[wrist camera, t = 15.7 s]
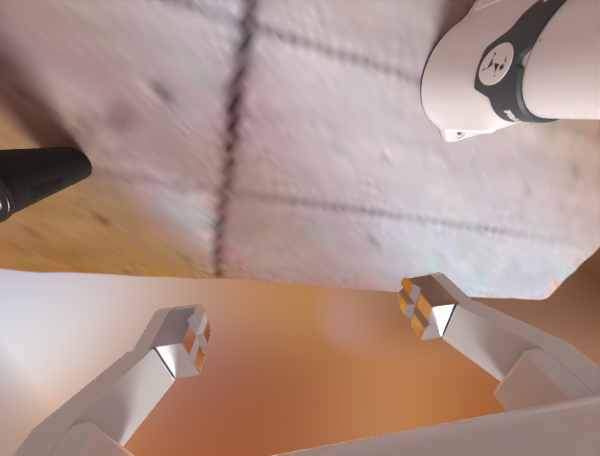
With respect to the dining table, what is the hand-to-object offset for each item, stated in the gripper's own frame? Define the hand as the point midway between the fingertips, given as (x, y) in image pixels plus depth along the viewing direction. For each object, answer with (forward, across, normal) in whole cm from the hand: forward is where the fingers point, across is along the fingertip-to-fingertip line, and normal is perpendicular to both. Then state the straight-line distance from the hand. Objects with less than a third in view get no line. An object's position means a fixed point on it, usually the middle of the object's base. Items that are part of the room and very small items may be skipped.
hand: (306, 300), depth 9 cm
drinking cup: (+31, -32, +2) cm, 45 cm away
